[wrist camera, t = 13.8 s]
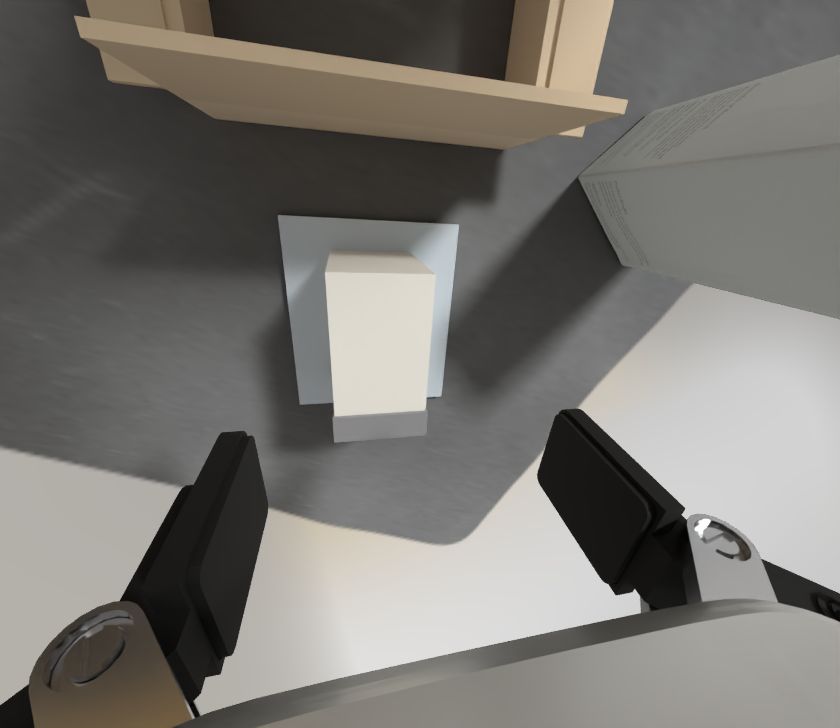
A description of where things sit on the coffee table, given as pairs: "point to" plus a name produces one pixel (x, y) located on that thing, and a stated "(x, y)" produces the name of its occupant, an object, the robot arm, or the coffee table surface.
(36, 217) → the coffee table surface
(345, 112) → the carton
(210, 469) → the robot arm
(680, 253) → the skincare box
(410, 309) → the box
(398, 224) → the felt mat
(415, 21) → the coffee table surface
